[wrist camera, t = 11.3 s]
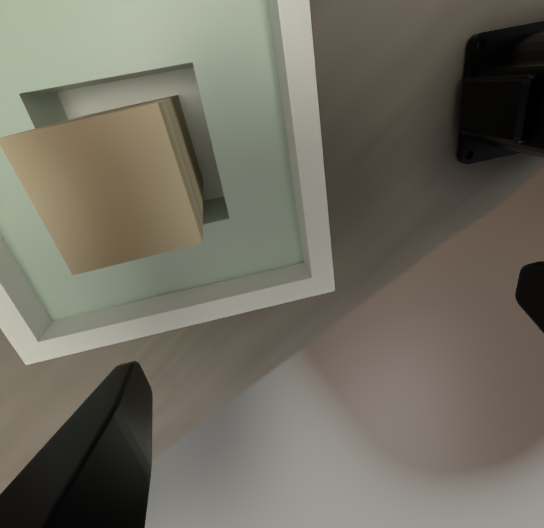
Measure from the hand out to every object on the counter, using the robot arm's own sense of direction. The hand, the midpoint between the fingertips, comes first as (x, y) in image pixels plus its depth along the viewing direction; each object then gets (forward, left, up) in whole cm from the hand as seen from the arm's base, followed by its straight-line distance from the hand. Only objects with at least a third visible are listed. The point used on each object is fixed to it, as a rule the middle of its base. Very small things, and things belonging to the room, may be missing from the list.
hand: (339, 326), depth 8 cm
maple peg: (+5, -3, -12) cm, 13 cm away
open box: (+5, -3, -13) cm, 14 cm away
